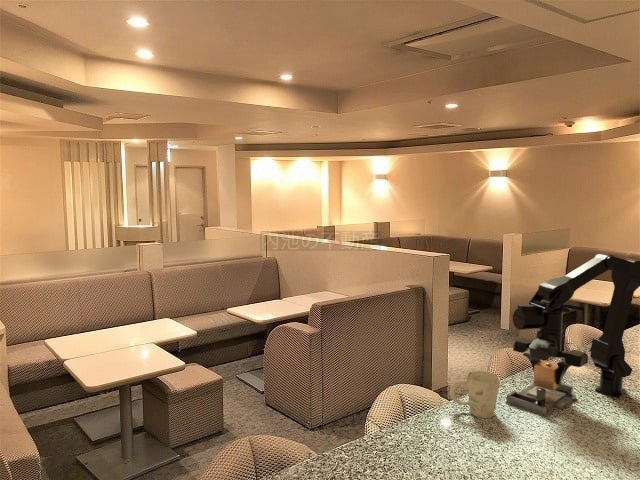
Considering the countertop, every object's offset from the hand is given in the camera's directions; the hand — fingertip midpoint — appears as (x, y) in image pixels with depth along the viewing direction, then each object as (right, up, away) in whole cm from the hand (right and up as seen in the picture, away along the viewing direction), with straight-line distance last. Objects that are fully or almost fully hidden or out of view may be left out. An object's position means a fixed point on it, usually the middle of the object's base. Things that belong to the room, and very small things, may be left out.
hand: (547, 381), depth 142 cm
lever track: (-8, -5, -6) cm, 11 cm away
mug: (-24, -6, -9) cm, 26 cm away
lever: (-6, -5, -8) cm, 11 cm away
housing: (0, -1, 0) cm, 1 cm away
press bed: (0, -5, 0) cm, 5 cm away
